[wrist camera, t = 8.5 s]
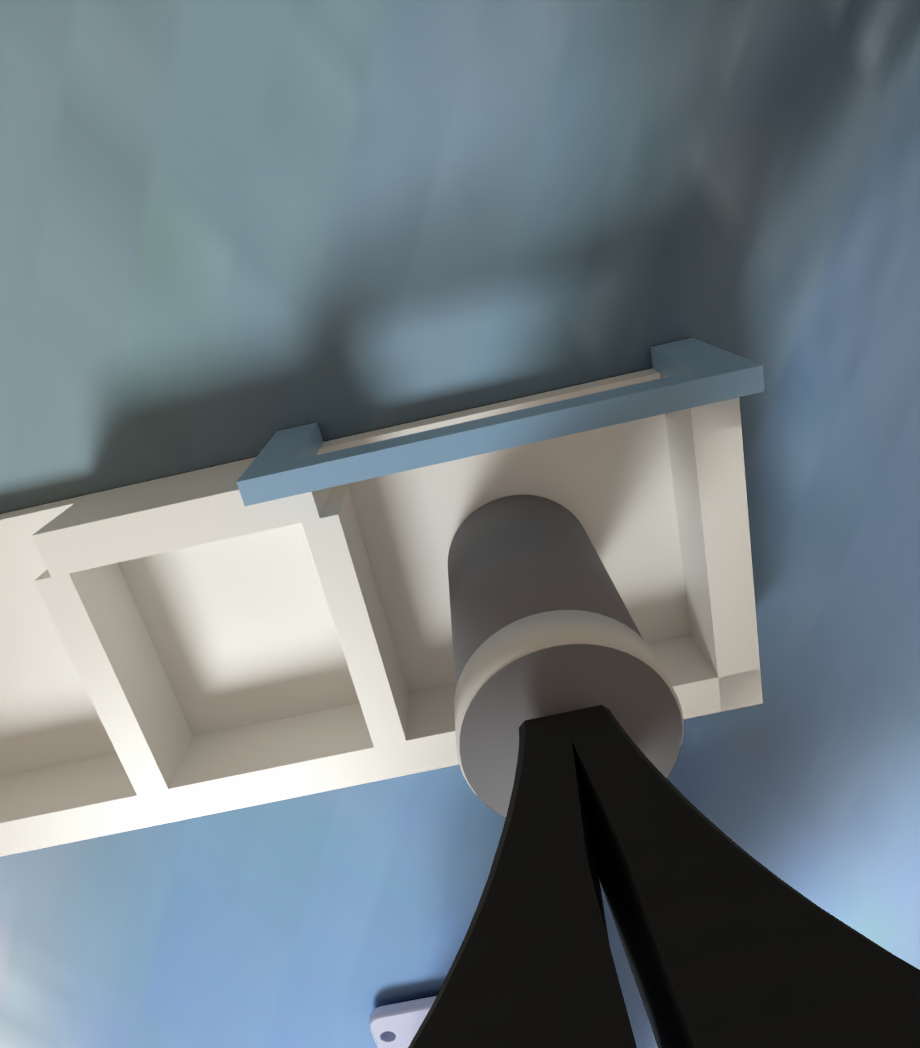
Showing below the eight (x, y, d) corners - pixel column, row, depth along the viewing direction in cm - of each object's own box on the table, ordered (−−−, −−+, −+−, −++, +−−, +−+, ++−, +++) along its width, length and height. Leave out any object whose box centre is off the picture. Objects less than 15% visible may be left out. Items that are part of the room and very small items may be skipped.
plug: (601, 612, 19) (693, 811, 12) (460, 639, 19) (479, 850, 13) (583, 479, 18) (676, 623, 11) (431, 509, 18) (435, 669, 11)
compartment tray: (723, 647, 20) (787, 737, 16) (-101, 815, 21) (-211, 935, 18) (692, 337, 17) (762, 365, 13) (-270, 553, 18) (-446, 633, 15)
